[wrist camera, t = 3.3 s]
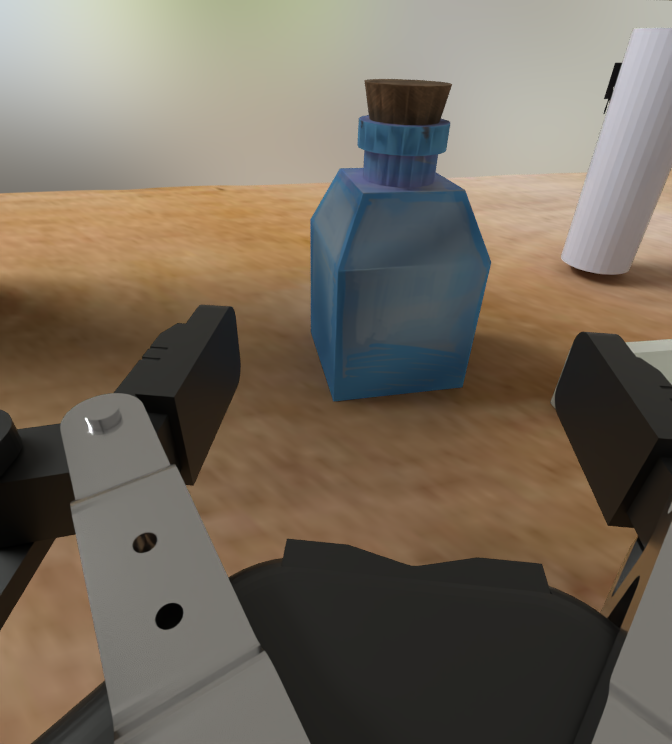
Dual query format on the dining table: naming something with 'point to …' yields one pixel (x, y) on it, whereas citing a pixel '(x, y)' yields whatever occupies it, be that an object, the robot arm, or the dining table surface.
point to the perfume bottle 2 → (626, 159)
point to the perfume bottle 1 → (396, 255)
